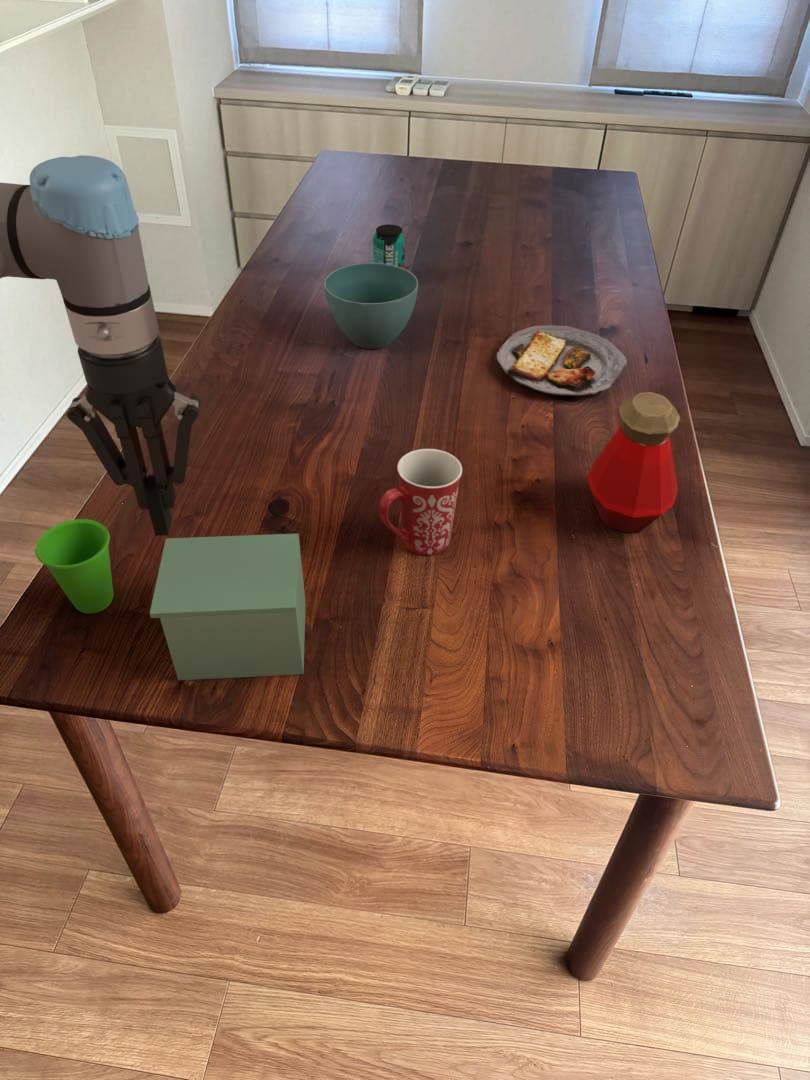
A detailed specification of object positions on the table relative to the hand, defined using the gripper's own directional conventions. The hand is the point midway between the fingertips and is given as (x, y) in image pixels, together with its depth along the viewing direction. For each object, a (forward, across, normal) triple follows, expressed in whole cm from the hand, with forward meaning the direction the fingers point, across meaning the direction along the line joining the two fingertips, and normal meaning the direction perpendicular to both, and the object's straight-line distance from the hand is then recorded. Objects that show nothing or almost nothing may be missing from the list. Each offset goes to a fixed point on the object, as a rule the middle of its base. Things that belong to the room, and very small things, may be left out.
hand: (163, 527), depth 90 cm
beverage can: (+20, +32, +104) cm, 110 cm away
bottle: (+19, +64, +22) cm, 70 cm away
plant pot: (+20, +27, +78) cm, 85 cm away
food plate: (+20, +63, +65) cm, 93 cm away
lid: (+8, +6, 0) cm, 10 cm away
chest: (+20, +7, 0) cm, 21 cm away
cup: (+20, -14, +8) cm, 26 cm away
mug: (+20, +31, +17) cm, 40 cm away
